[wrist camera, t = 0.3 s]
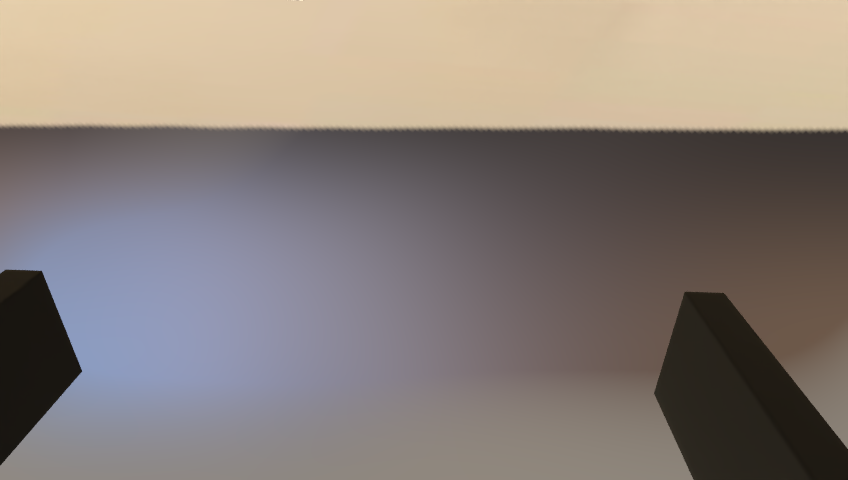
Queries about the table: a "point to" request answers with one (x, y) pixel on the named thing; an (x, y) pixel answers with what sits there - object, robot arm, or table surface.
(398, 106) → the table surface
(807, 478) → the robot arm
